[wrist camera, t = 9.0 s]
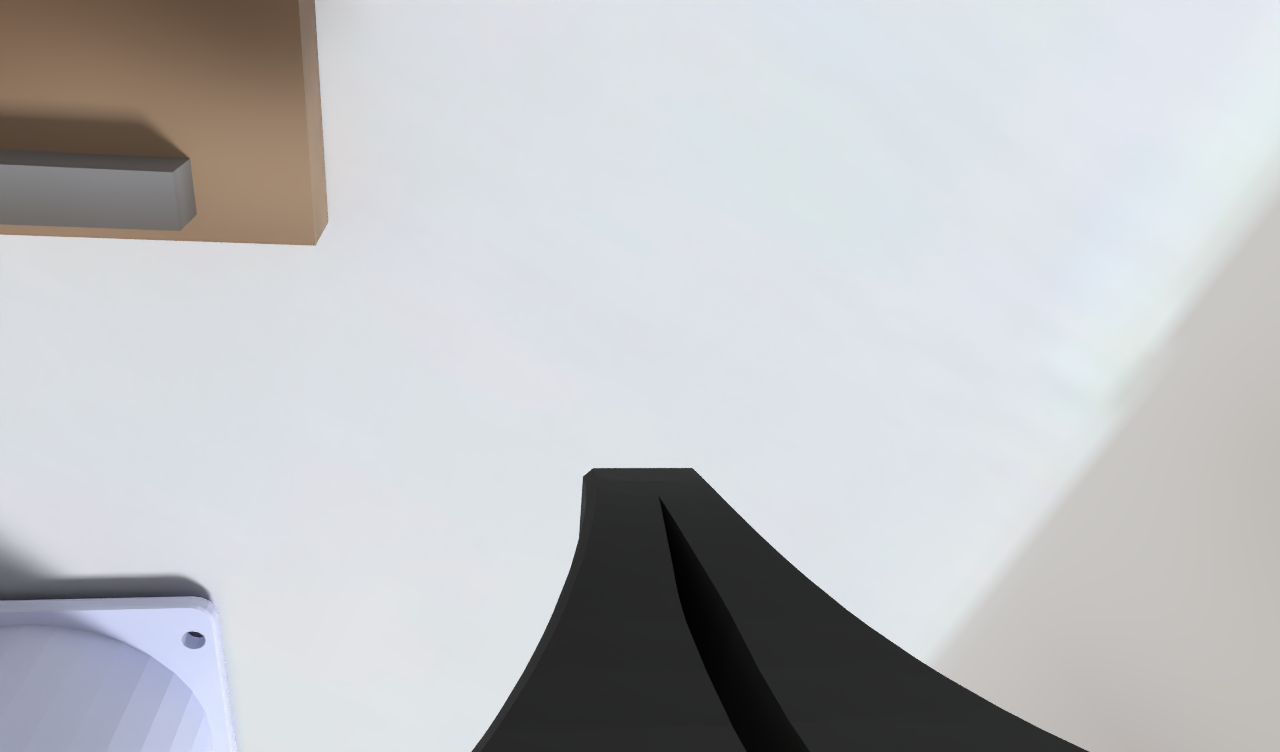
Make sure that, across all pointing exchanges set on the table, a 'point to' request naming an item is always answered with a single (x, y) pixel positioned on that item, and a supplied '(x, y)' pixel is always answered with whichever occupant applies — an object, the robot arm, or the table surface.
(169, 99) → the keeper track
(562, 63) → the table surface
